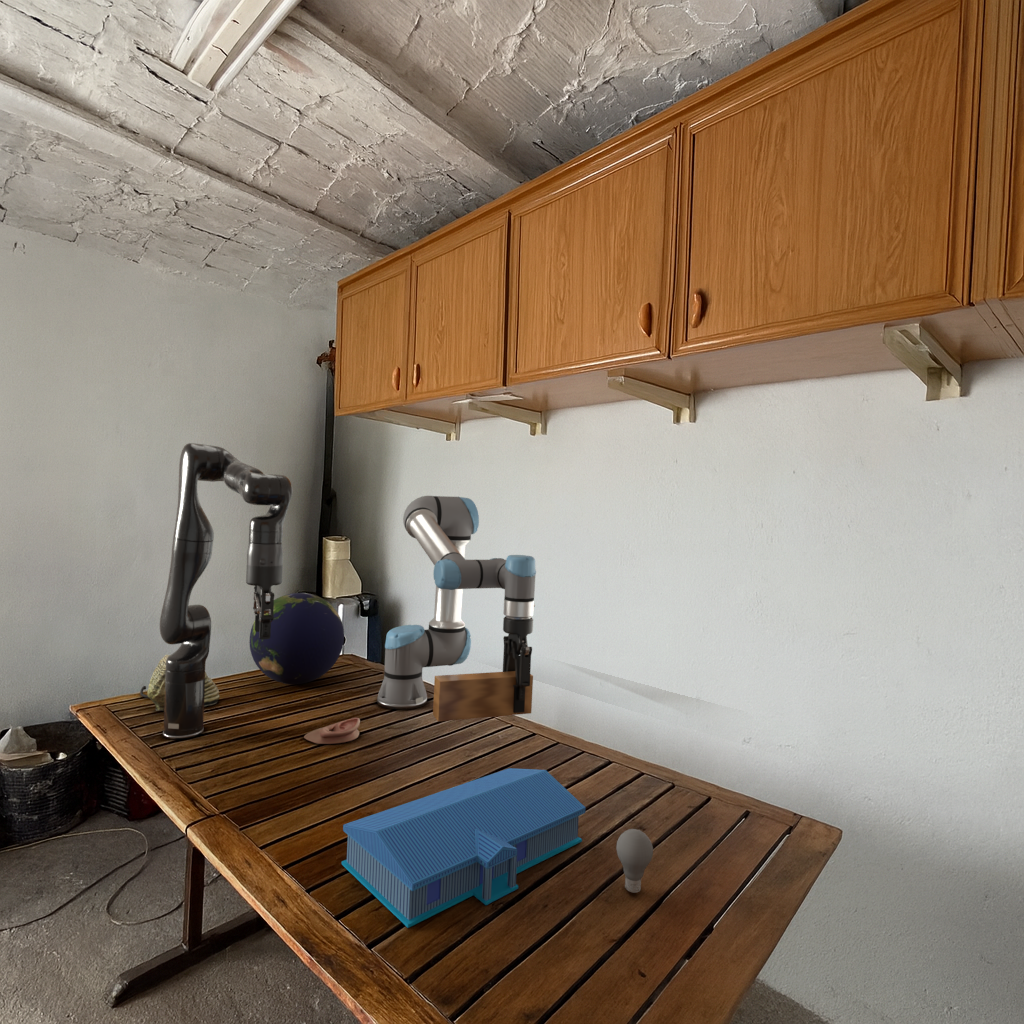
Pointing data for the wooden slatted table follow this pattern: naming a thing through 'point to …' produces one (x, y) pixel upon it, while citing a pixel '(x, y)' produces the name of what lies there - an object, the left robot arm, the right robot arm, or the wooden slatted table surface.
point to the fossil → (158, 687)
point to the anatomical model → (335, 732)
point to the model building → (462, 842)
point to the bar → (477, 695)
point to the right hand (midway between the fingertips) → (514, 708)
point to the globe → (299, 639)
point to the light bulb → (634, 857)
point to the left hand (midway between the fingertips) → (262, 635)
